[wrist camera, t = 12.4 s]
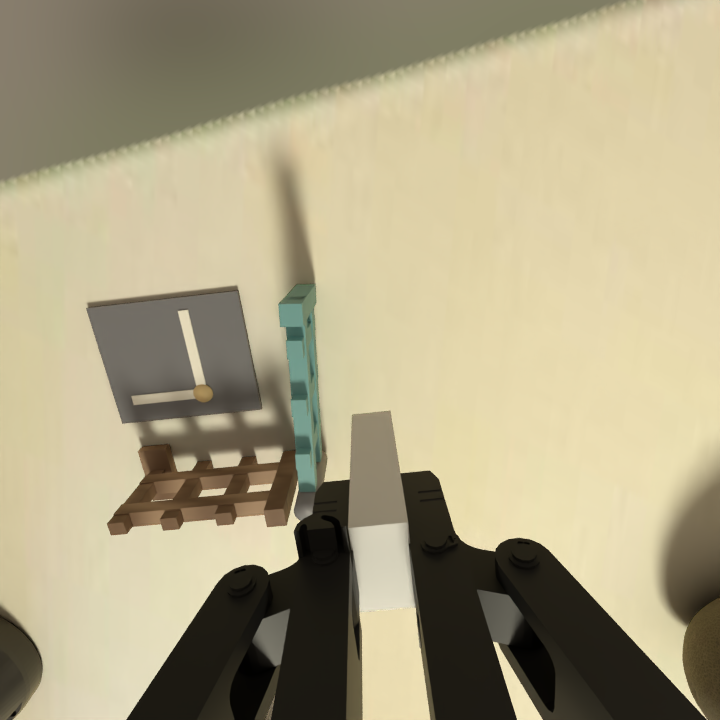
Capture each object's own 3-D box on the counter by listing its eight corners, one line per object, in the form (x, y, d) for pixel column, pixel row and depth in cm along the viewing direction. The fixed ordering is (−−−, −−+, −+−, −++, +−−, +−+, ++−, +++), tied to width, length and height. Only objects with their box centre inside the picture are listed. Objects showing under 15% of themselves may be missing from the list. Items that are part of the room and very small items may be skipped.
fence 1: (157, 495, 40) (108, 562, 32) (142, 446, 39) (87, 504, 31) (304, 481, 40) (290, 545, 32) (296, 431, 38) (278, 486, 30)
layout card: (124, 422, 38) (121, 424, 37) (88, 307, 35) (85, 308, 34) (262, 407, 37) (260, 410, 37) (238, 290, 34) (236, 291, 34)
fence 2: (327, 466, 38) (319, 525, 31) (307, 467, 39) (294, 525, 31) (317, 283, 33) (305, 303, 26) (294, 284, 34) (275, 304, 26)
